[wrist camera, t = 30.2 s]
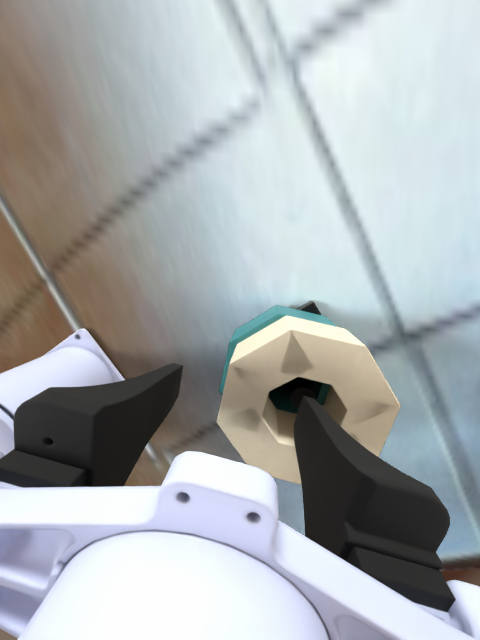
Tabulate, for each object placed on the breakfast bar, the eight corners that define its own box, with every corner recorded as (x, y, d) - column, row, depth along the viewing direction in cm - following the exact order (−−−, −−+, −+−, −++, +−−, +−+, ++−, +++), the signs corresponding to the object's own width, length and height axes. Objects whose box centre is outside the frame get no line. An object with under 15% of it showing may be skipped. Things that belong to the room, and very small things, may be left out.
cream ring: (273, 461, 19) (275, 503, 15) (204, 362, 17) (189, 386, 14) (393, 409, 16) (424, 445, 13) (324, 292, 15) (340, 300, 12)
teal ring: (266, 430, 22) (266, 459, 19) (209, 345, 21) (197, 361, 17) (365, 383, 20) (385, 407, 16) (308, 286, 18) (316, 290, 15)
